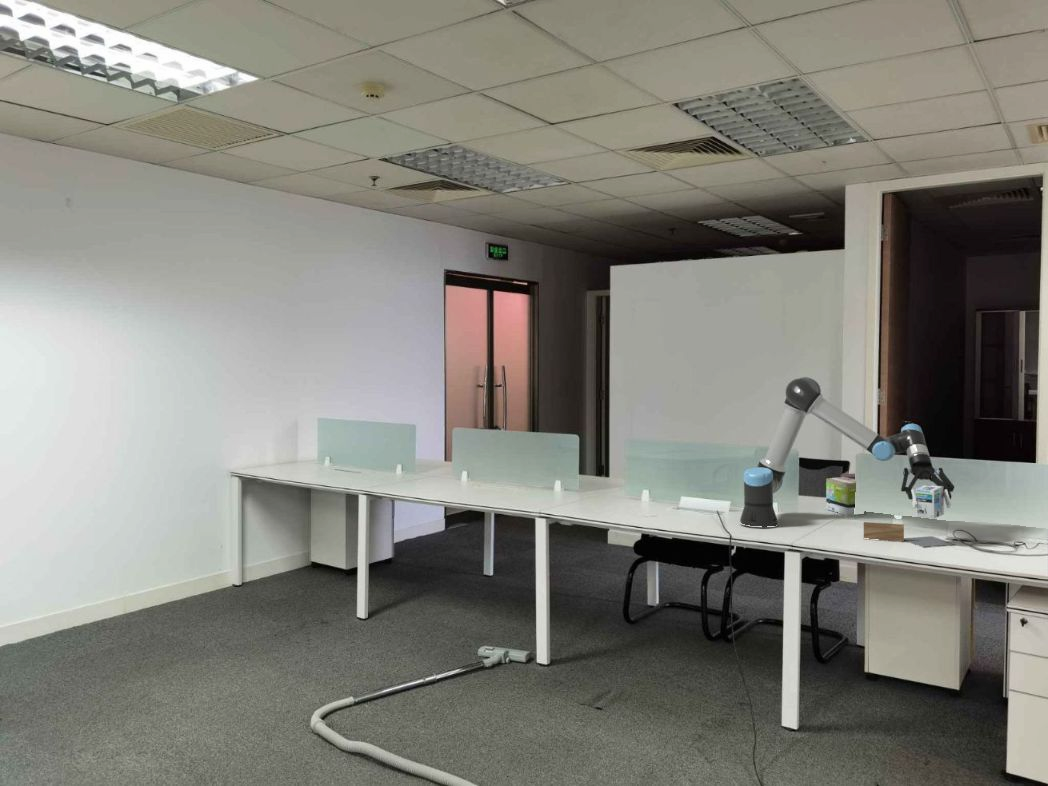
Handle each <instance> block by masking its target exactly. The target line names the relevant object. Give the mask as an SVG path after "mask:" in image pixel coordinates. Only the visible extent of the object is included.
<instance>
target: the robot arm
mask: <svg viewBox="0 0 1048 786" xmlns="http://www.w3.org/2000/svg"><path fill="white" fill-rule="evenodd" d="M821 392H822V389H821V385H819V383H818V382H817V380H815V379H814V378H811V377H809V376H803V377H799V378H795V379H793V380H792V381H790V382H789V383H788V384H787V386H786V388H785V396H786V397H785V401H784V402H783V403H784V406H785V409H784V412H783V414H782V417H781V419H780V422H779V423H778V426H777V429H776V431H775V433H774V435H773V438H772V440H771V442H770V445H769V448H768V450H767V452H766V453H765V454H766V455H765V456H764V457H763V458H761V459H759V462H758V464H757V466H756V467H752V468H751V467H750V468H748V469H746V470H745V471H744V472H743V491H744V492H743V499H744V500H743V501H744V504H743V505H744V506H743V509H742V512H741V515H740V519H739V520H740V521H739V522H741V523H742V524H745V525H750V526H762V527H767V526H776V525H777V524H778V518H777V515H776V511H775V509H774V493H776V492H778V491H779V489H780V488H781V487H782V485H783V481H784V477H785V474H786V472H787V470H786V468H785V467H786V466H785V465H786V462H787V460H788V458H789V456H790V454H791V451H792V449H793V447H794V444H795V441H796V439H797V437H798V434H799V432H800V429H801V428H802V426H803V423H804V421H805V418H806V416H808V415H813V416H815V417H817V418H818V419H819V420H821V421H823V422H824V423H825V424H827V425H828V426H829V427H831V428H833V429H834V430H836V431H837V432H839V433H840V434H842V435H844V436H845V437H847V439H850V440H851V441H853V442H854V443H856V444H857V445H858V446H860V447H861V448H863V449H864V450H866V451H867V452H868V453H870V454H872V455H873V457H874V458H875V459H876V460H878V461H881V462H886V461H889V460H891V459H892V458H894V455H898V454H901V453H905V452H906V455H907V458H908V463H909V467H910V468H908V467H904V468H903V471H902V473H903V479H902V484H901V489H900V491H901V492H905V493H906V495H907V497H908V499H909V500H911V504H912V507H913V509H916V506H917V501H916V492H915V490H914V489H913V487H914V485H916V482H917V481H918V480H926V481H927V480H928V481H930V482H931V483H932V482H933V483H934V485H935V486H943V487H944V503H945V505H946V508H947V509H950V507H951V505H952V502H951V500H952V492H954V490H955V486H954V484H953V482H952V481H951V480H950V479H949V477H948V476H947V475H946V474H945V473H944V470H943V468H942V467H938V468H934V467H933V464H932V459H931V457H930V453H929V450H928V446H927V443H926V438H925V435H924V433H923V430H922V428H921V426H920V425H918V424H915V423H908V424H905V425H904V426H903V427H901V429H900V433H897V434H893V435H890V436H885V437H883V436H881V435H880V434H879V433H877V432H875V431H874V430H872V429H871V428H869V427H867V425H865V424H863V423H861V422H860V421H858V420H856V419H855V418H854V417H852V416H850V415H849V414H848V413H846V412H845V411H843V410H842V409H840V408H839V407H837V406H836V405H834V404H833V403H831V402H829V401H828V400H826V399H825V398H824V397H823V394H822V393H821ZM910 474H912V475H913V476H914V477H913V478H912V480H911V481H910V482H909V484H908V486H907V481H908V478H909V475H910ZM937 476H938V477H937ZM777 526H778V525H777ZM777 526H776V527H777Z"/></svg>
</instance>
